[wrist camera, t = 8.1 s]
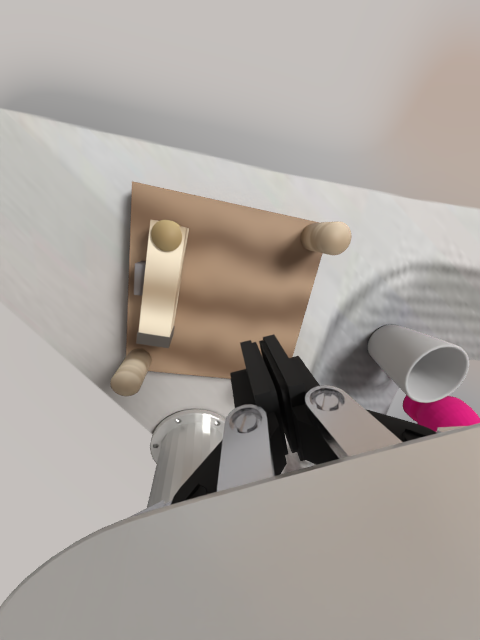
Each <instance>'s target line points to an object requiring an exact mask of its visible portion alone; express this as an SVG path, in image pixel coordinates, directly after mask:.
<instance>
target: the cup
mask: <svg viewBox="0 0 480 640" xmlns="http://www.w3.org/2000/svg"><path fill="white" fill-rule="evenodd" d="M368 352H369V354H370V356H371V357H372V358H373V359H374V360H375V361H376V362H377V364H378V365H379V366H380V367H381V368H382V369H383V370H384V372H385V373H386V374H387V375H388V376H389V377H390V378H391V379H392V380H393V381H394V382H395V383H396V384H397V385H398V386H399V387H400V388H401V390H402V391H403V392H404V393H405V394H406V395H407V396H408V397H410V398H411V399H412V400H414V401H417V402H422V403H429V402H435V401H438V400H440V399H443V398H445V397H446V396H448V395H450V394H451V393H452V392H453V391H455V390H456V389H457V388H458V387H459V385H460V384H461V383H462V382H463V380H464V378H465V377H466V375H467V372H468V368H469V359H468V356H467V353H466V352H465V351H464V350H463V349H462V348H461V347H459V346H457V345H455V344H452V343H449V342H446V341H443V340H441V339H438V338H435V337H432V336H429V335H427V334H424V333H421V332H418V331H414V330H411V329H408V328H405V327H402V326H398V325H394V324H390V325H385V326H383V327H381V328H379V329H378V330H376V331H375V332H374V333H373V334H372V336H371V338H370V340H369V342H368Z"/></svg>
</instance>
